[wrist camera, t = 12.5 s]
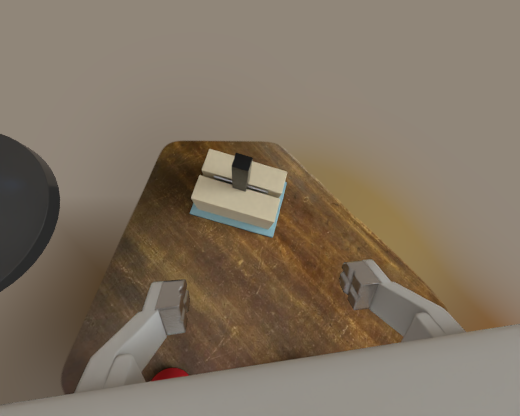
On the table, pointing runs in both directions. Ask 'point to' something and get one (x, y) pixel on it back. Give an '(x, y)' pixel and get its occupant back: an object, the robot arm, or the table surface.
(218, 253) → the table surface
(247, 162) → the slider knob post
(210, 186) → the slide lever switch
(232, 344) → the table surface
